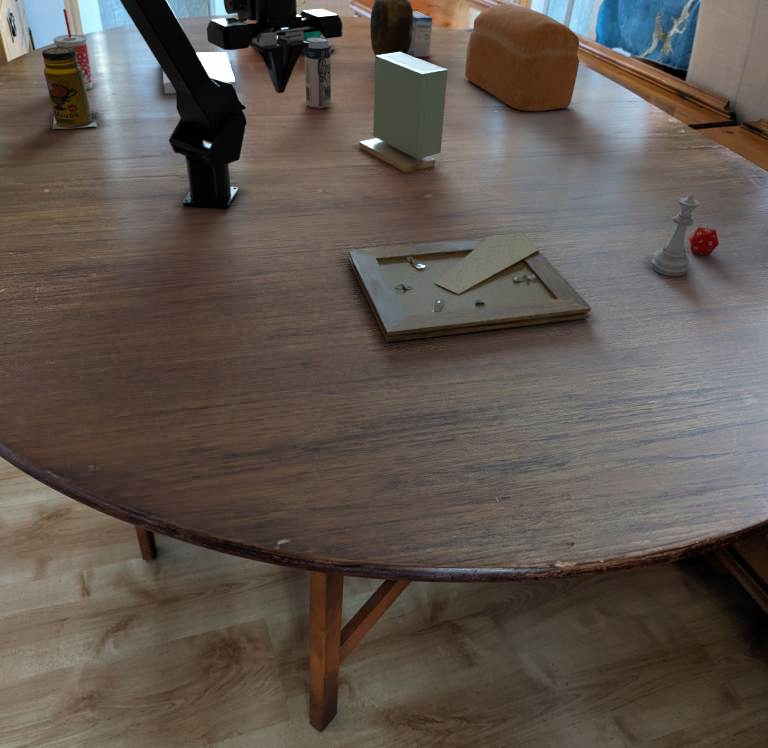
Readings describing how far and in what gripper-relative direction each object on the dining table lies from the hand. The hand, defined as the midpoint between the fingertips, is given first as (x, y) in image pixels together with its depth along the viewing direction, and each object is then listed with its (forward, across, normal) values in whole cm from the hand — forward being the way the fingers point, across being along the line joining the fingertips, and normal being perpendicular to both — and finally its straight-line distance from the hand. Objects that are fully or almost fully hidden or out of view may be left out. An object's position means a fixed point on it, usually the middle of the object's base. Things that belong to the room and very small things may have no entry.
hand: (279, 92), depth 106 cm
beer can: (+12, -22, -26) cm, 36 cm away
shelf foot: (+12, -19, +4) cm, 23 cm away
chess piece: (+12, -26, +53) cm, 60 cm away
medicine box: (+12, -65, -50) cm, 83 cm away
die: (+12, -34, +52) cm, 64 cm away
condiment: (+12, +20, -39) cm, 45 cm away
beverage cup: (+12, +13, -58) cm, 61 cm away
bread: (+12, -64, -13) cm, 66 cm away
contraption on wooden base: (+12, -41, -67) cm, 79 cm away
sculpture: (+12, -52, -42) cm, 68 cm away
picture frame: (+12, 0, +43) cm, 44 cm away
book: (+12, -10, -55) cm, 57 cm away
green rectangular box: (+10, -21, +4) cm, 24 cm away
